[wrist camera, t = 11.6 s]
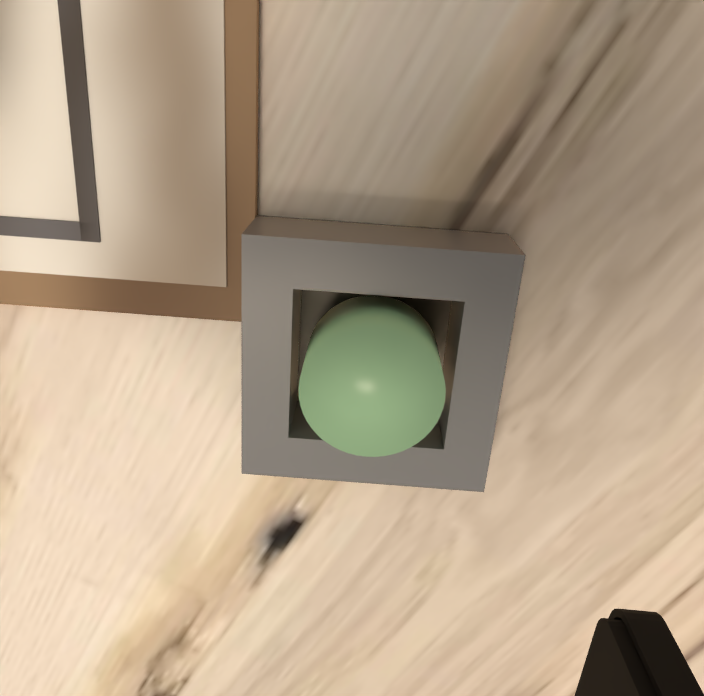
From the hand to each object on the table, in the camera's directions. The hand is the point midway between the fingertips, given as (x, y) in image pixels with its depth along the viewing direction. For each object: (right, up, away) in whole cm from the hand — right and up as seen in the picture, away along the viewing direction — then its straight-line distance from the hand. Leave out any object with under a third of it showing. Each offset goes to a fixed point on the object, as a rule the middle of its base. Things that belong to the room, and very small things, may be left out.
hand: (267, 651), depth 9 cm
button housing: (+2, +5, +13) cm, 14 cm away
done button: (+2, +4, +12) cm, 12 cm away
